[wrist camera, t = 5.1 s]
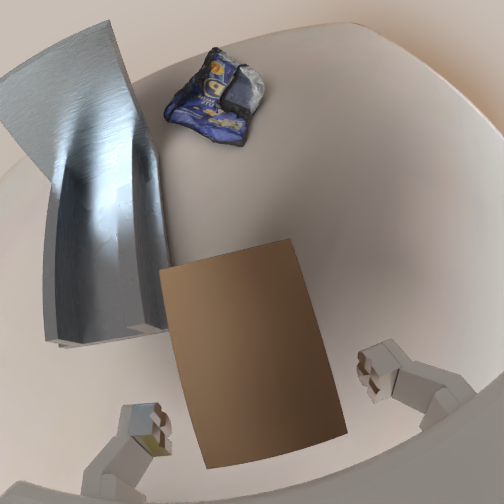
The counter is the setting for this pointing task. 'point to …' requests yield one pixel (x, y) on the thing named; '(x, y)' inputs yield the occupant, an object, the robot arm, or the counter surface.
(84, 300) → the track
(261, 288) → the tan wooden block
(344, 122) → the counter surface
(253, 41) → the counter surface
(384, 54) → the counter surface
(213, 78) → the snack package
